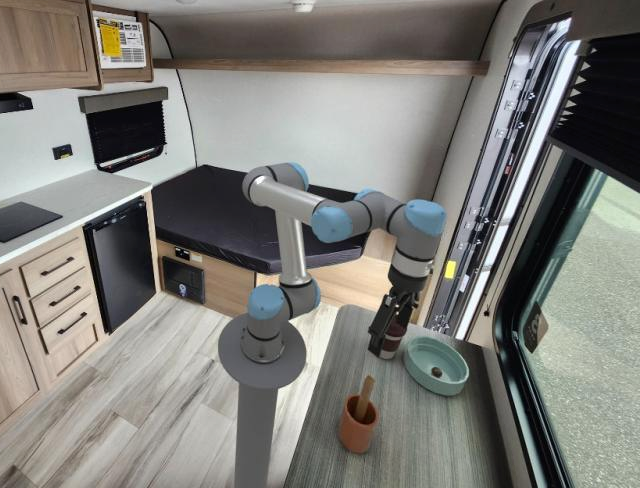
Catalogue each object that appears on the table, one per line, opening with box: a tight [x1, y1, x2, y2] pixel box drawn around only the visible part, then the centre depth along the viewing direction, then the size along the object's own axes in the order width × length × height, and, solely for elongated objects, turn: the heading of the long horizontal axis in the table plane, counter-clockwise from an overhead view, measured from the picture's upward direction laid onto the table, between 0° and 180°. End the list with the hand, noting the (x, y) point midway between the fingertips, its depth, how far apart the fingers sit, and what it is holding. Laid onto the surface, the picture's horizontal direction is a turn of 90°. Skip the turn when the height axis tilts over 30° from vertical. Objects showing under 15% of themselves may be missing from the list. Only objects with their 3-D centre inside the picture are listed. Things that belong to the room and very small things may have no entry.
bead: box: [431, 367, 442, 378], centre depth 100 cm, size 3×3×3 cm
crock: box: [337, 393, 379, 454], centre depth 82 cm, size 8×8×11 cm
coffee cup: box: [378, 313, 408, 360], centre depth 106 cm, size 10×10×15 cm
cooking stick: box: [354, 374, 376, 424], centre depth 79 cm, size 2×2×22 cm
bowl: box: [403, 335, 470, 397], centre depth 101 cm, size 17×17×6 cm
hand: (388, 338), depth 77 cm, fingers open, 13 cm apart
